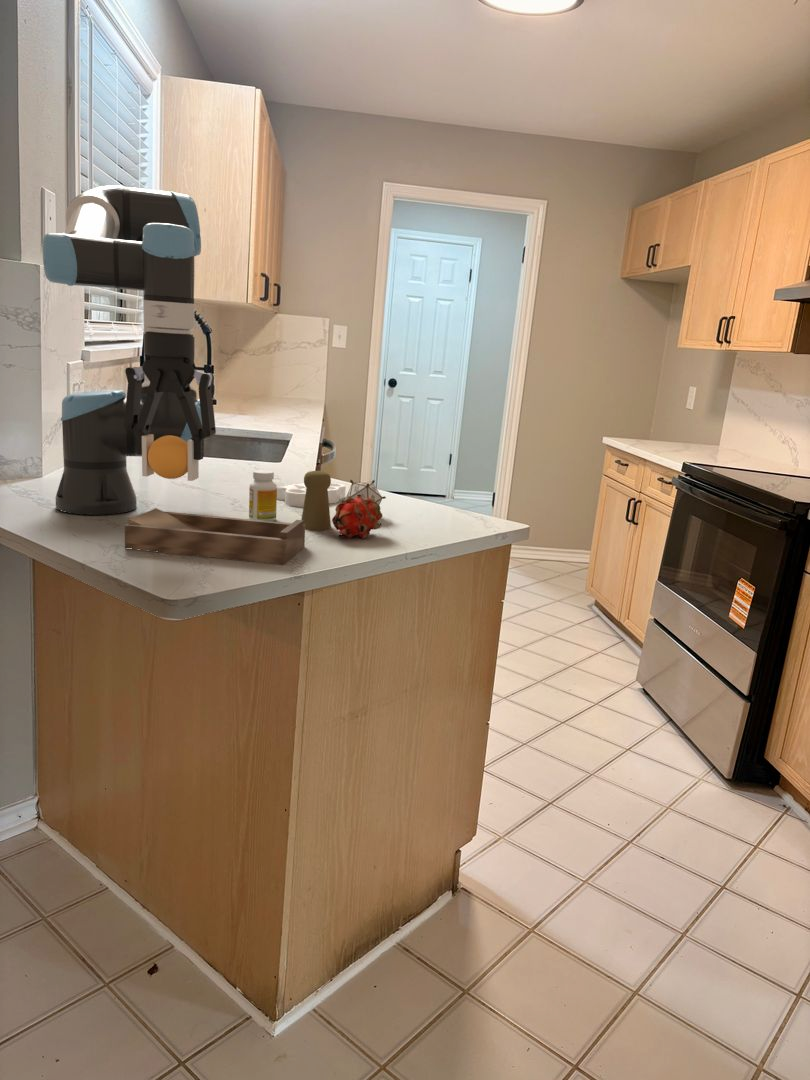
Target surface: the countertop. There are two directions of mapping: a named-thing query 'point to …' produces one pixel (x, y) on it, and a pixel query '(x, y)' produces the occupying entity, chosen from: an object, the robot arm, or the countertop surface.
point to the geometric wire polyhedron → (364, 491)
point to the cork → (316, 501)
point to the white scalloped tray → (297, 492)
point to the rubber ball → (169, 457)
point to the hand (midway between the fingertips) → (170, 476)
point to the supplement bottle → (262, 496)
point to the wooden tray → (215, 536)
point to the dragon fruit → (357, 517)
